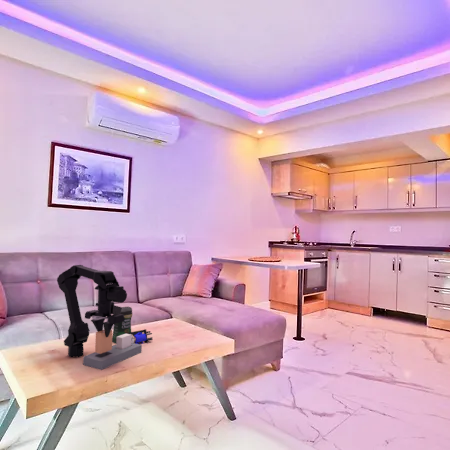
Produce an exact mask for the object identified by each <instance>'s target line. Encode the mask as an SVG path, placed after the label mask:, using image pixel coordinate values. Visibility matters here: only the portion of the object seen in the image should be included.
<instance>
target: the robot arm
mask: <svg viewBox="0 0 450 450" xmlns="http://www.w3.org/2000/svg"><path fill="white" fill-rule="evenodd" d="M81 277H84V278H87V279H89V280H92V281H93V283H94V284H96V285H97V286H95V287H94V290H97V302H95V306H96V307H97V309H94V310H93V309H91V310H88V311H86V312H85V313H84V319H87V320H89V319H91V320H90V322H92V324H93V326H94V327H95V329H96V332H99V331H102V330H104V331H105V336H106V337H108V336H109V334H110V331H111V330H112V329H113V327H114V324H116V323H119V322H123V321H124V320H125V316H124V315H123V314H121V310H122V307H123V306H118V305H115V303H120V304H122V303H125V302H126V300H127V298H128V293H127V291H126V289H124V286H120V284H119V281H118V279H117V278H116V276H115V274H114V272H113V271H112V270H98V269H94V268H91V267H87V266H84V265H83V264H74V265H72V266H71V267H70V268H68V269H66V270H65V271H63V272H62V273H60V274H59V275H58V276H57V278H56V281H57V285H58V288H59V289H60V290H61V291H62V293H63V294H64V299H65V303H66V309H67V313H68V318H69V322H70V323H69V324H70V325H69V327H68V330H67V332H68V335H67V336H66V337H65V338H64V340H63V345H64V346H66V347H68V348H67V356H65V358H66V357H69V358H81V357H84V343H87V342H88V339H89V336H90V328H89V323H88V322H85V321H83V318H82V314H81V309H80V304H79V300H78V295H77V291H76V290H77V287H78V286H79V285H78V284H79V281H78V280H79V279H81ZM115 313H118V314H115ZM113 314H114V315H113ZM105 320H106V321H105Z"/></svg>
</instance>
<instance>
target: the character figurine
mask: <svg viewBox="0 0 450 450" xmlns="http://www.w3.org/2000/svg"><path fill="white" fill-rule="evenodd" d="M126 334H131V343H135V344H139V343H141V344H140V345H143V344H145V343H149V341H153V337H152V336H151V337H148V336H150V335H152V334H153V333H152V332H151V330H148V331H147V329H145V328H144V329H142V330H135V331H131V332H129V333H126Z"/></svg>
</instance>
